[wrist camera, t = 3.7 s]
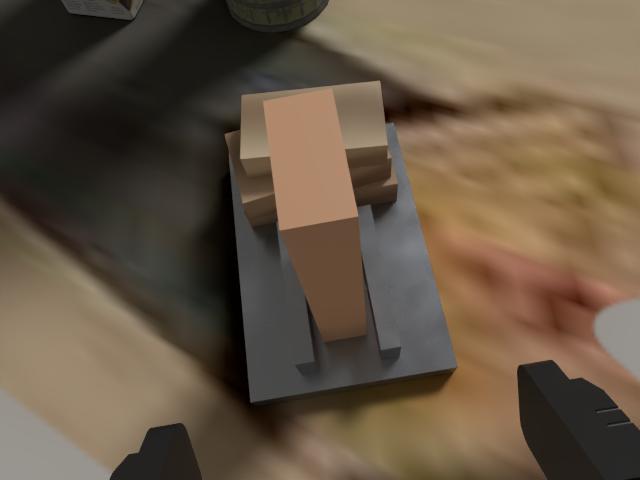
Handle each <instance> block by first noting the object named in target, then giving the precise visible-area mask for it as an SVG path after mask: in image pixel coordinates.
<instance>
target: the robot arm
mask: <svg viewBox="0 0 640 480" xmlns="http://www.w3.org/2000/svg"><path fill="white" fill-rule="evenodd" d="M517 377H518V394H519V411H520V422H521V427H522V431H523V434H524V437H525V440H526V442H527V445H528V447H529V448H530V450H531V452H532V454H533V455H534V457H535V459H536V460H537V462H538V464H539V466H540V467H541V469H542V471H543V472H544V474H545V476H546V478H547V479H548V480H640V430H639V429H638V428H637V427H636V426H635V425H634V424H633V423H631V422H630V419H629V418H628V417H627V416H626V415H625V414H624V412H623V411H622V410H621V409H620V410H619V409H618V406H617V405H616V404H615V403H614V401H613V400H612V399H611V398H610V397H609V396H608V395H607V394H606V393H605V392H604V390H602V389H601V388H599V387H597V386H595V385H593V384H592V383H590V382H588V381H586V380H585V379H583V378H577V379H571V380H569V378H568V377H567V376H566V375H565V374H564V372H563V371H562V370H561V369H560V368H559V366H558V365H557V364H556V363H555V362H554V361H553V360H547V361H541V362H535V363H530V364H524V365H519V366H518V370H517ZM110 480H202V478H201V473H200V470H199V467H198V464H197V460H196V457H195V454H194V451H193V448H192V445H191V442H190V439H189V436H188V433H187V430H186V428H185V426H184V425H183V424H182V423H177V424H172V425H166V426H160V427H154V428H150V429H149V430H148V432H147V434H146V436H145V439H144V441H143V443H142V446H141V448H140V451H139V453H134V454H129V455H128V456H127V457H126V458H125V459H124V461H123V462H122V463H121V464H120V465H119V466H118V467H117V468H116V470H115V471H114V472H113V473H112V475H111V477H110Z"/></svg>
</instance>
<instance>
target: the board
mask: <svg viewBox="0 0 640 480" xmlns="http://www.w3.org/2000/svg"><path fill="white" fill-rule="evenodd" d="M263 106H264V114H265V121H266V129H267V137H268V145H269V152H270V160H271V168H272V176H273V184H274V191H275V199H276V207H277V215H278V222H279V230H280V233H281V235H282V238H283V241H284V243H285V246H286V248H287V251H288V253H289V256H290V258H291V261H292V263H293V266H294V268H295V271H296V273H297V276H298V278H299V281H300V284H301V286H302V289H303V291H304V294H305V296H306V299H307V301H308V304H309V306H310V309H311V311H312V314H313V316H314V319H315V321H316V324H317V326H318V329H319V332H320V334H321V337H322V339H323V342H328V341H333V340H339V339H345V338H351V337H356V336H362V335H367V325H366V312H365V298H364V284H363V271H362V257H361V243H360V229H359V216H358V211H357V206H356V202H355V197H354V192H353V187H352V182H351V177H350V172H349V168H348V163H347V158H346V153H345V148H344V143H343V138H342V133H341V129H340V124H339V119H338V114H337V109H336V104H335V99H334V95H333V90H332V88H330V89H325V90H319V91H314V92H309V93H303V94H298V95H293V96H287V97H282V98H277V99H271V100H266V101H263Z"/></svg>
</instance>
